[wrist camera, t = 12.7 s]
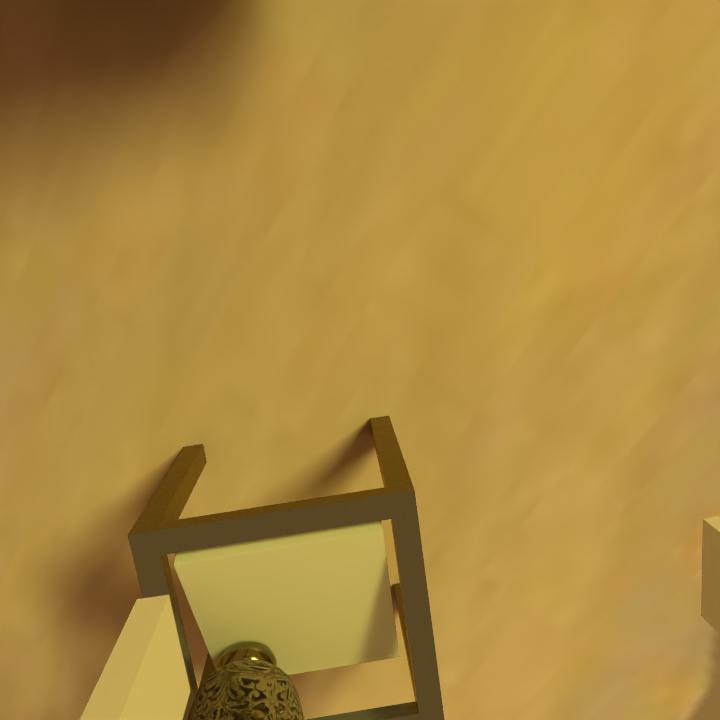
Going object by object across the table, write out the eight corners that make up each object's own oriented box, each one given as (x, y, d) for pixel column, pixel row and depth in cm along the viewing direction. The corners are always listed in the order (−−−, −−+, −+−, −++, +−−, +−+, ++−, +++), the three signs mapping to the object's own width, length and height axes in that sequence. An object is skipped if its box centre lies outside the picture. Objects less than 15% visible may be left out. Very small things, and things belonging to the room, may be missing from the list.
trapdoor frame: (183, 446, 48) (127, 535, 34) (388, 415, 48) (414, 490, 35) (222, 627, 51) (186, 773, 38) (413, 597, 52) (445, 729, 38)
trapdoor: (176, 551, 36) (173, 565, 35) (380, 519, 36) (383, 532, 35) (223, 671, 42) (222, 685, 41) (397, 643, 42) (399, 656, 41)
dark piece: (238, 704, 42) (232, 841, 35) (163, 654, 38) (139, 794, 31) (328, 655, 40) (340, 787, 34) (258, 598, 37) (255, 731, 30)
